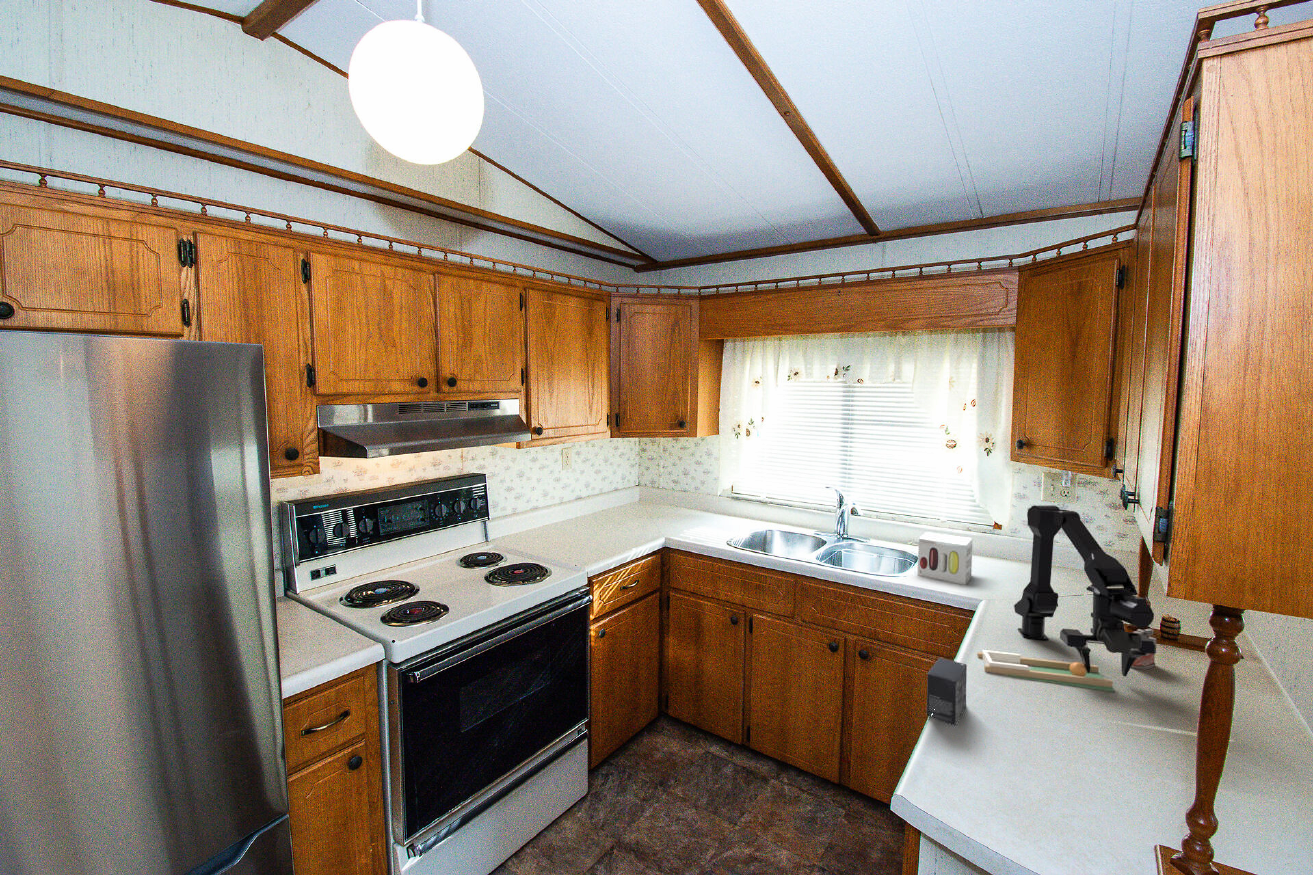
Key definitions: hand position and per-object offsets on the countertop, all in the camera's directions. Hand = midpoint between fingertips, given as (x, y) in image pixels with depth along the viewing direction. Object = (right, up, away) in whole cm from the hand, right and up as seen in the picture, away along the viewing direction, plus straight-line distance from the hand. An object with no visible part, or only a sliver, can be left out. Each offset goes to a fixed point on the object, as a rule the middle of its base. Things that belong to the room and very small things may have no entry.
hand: (1106, 673), depth 147 cm
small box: (-47, -4, -13) cm, 49 cm away
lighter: (+16, -2, +9) cm, 18 cm away
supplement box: (-2, +3, +79) cm, 79 cm away
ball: (-6, 0, +2) cm, 6 cm away
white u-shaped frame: (-21, -1, +7) cm, 22 cm away
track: (-13, -2, +5) cm, 14 cm away
